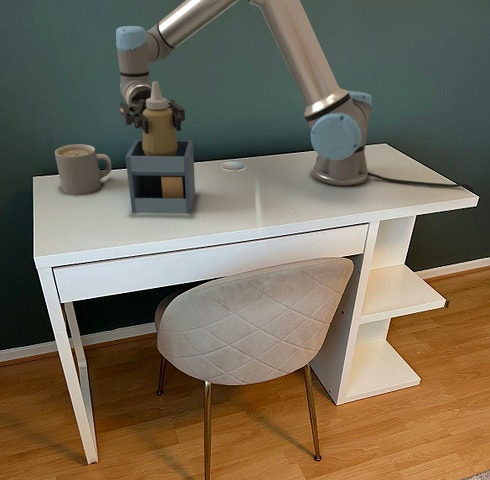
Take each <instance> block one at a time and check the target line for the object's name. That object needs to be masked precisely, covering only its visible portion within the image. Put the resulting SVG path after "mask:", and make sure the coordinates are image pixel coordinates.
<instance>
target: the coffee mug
mask: <svg viewBox="0 0 490 480" xmlns="http://www.w3.org/2000/svg"><path fill="white" fill-rule="evenodd" d="M54 155H55V160H56V161H55V162H56V165H57V166H56V167H57V171H58V177H59V181H60V186H61V190H62V192H63V193H65V194H67V195H68V194H69V195H75V196H76V195H77V196H78V195H88V194H91V193H95V192H96V191H98V190H99V189H101V187H102V186H101V185H102V184H101V180H102V179H103V178H105V177H107V176H108V175H109V174H110V173H111V172H112V161H111V158H110V157H109V155H107V154H104V153H97V151H96V148H95V147H94V146H93V145H89V144H83V143H82V144H80V143H79V144H78V143H77V144H68V145H63V146H61V147H58V148H57V149H55V150H54ZM101 160H103V161H104V162H105V164H106V166H105V167H106V168H105V169H104V170H101V169H100V166H99V162H100V161H101Z"/></svg>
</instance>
